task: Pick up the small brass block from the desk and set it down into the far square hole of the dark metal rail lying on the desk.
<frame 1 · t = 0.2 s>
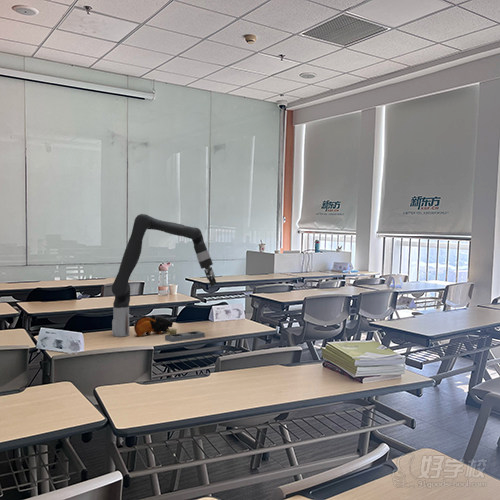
hand: (213, 284, 294), 31 cm above the table, tool tilted 20°, fingers open, 8 cm apart
tool: (153, 334, 301), on the table
rail: (185, 338, 289), on the table
nut: (171, 336, 294), on the table
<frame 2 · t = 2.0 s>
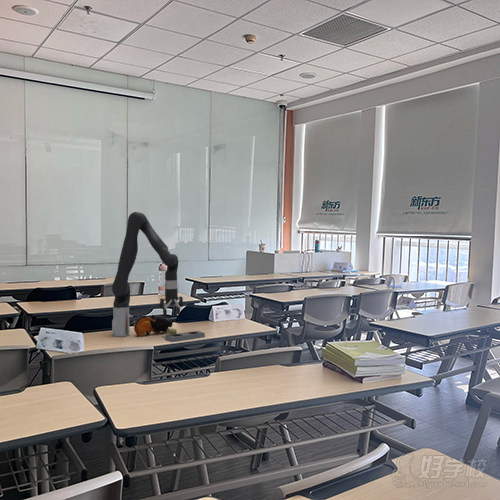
hand: (171, 314, 293), 13 cm above the table, tool pointing down, fingers open, 8 cm apart
nothing on the table moved.
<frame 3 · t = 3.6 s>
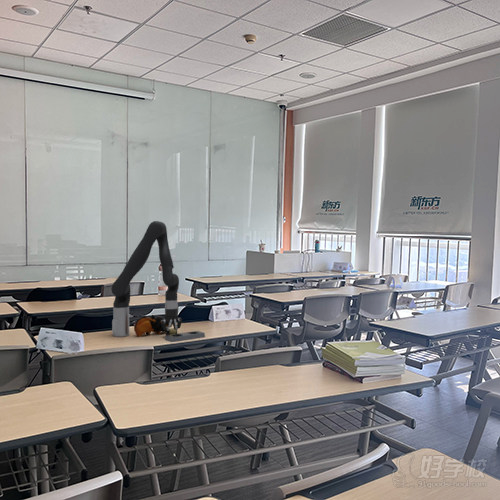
hand: (171, 336, 294), 0 cm above the table, tool pointing down, fingers closed on nut, 4 cm apart
nut: (171, 336, 294), on the table, touching gripper
everything else where it was.
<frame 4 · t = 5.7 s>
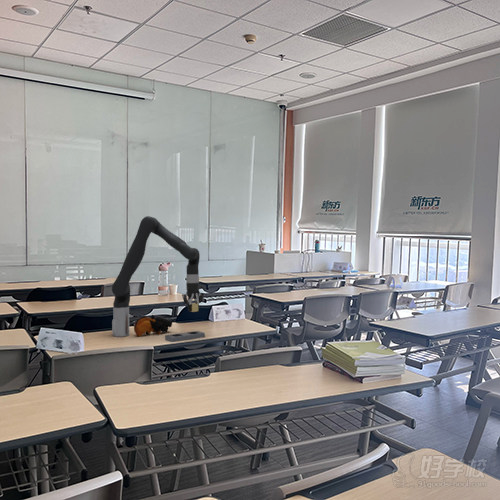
hand: (193, 310, 292), 16 cm above the table, tool pointing down, fingers closed on nut, 4 cm apart
nut: (193, 311, 292), point 15 cm above the table, touching gripper
everything else where it was.
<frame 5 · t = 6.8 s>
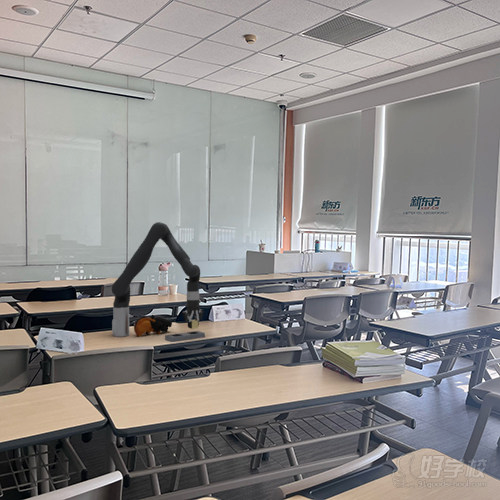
hand: (193, 327, 292), 6 cm above the table, tool pointing down, fingers closed on nut, 4 cm apart
nut: (193, 328, 292), point 5 cm above the table, touching gripper
everything else where it was.
when the fingers open (3 cm above the table, at t = 7.6 s): nut drops 3 cm, resting in rail.
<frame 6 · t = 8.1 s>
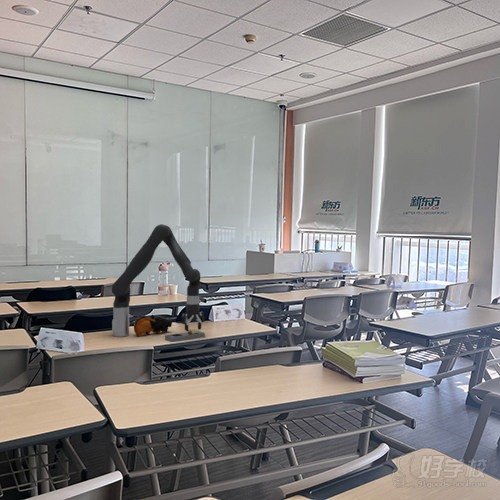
hand: (193, 330, 292), 4 cm above the table, tool pointing down, fingers open, 8 cm apart
nut: (193, 337, 292), resting in rail
everything else where it was.
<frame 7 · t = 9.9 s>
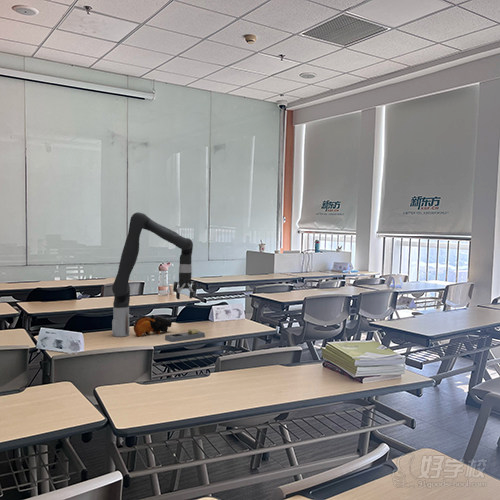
hand: (184, 298, 295), 22 cm above the table, tool pointing down, fingers open, 8 cm apart
nothing on the table moved.
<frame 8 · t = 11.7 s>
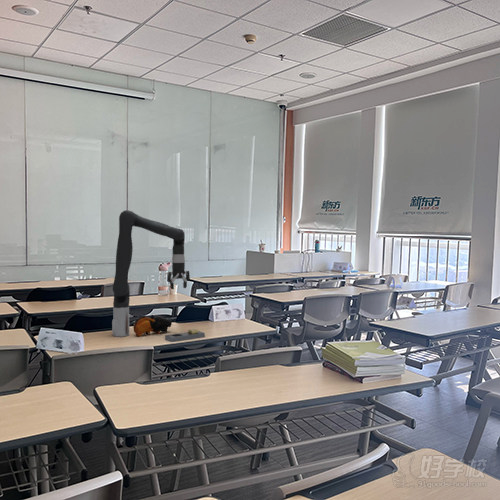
hand: (178, 288, 298), 28 cm above the table, tool pointing down, fingers open, 8 cm apart
nothing on the table moved.
at the end: nut 0.1 cm from the target spot on the rail, point 0.0 cm above the rail's base; the gripper is holding nothing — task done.
